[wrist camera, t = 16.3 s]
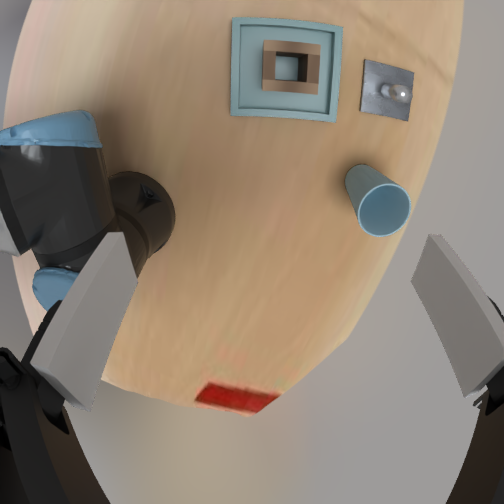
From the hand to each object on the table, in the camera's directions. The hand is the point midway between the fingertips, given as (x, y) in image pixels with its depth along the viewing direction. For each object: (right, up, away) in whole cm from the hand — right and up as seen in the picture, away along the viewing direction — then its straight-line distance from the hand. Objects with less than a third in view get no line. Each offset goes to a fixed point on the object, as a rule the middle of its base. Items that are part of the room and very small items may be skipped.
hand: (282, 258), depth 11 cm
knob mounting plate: (+18, +23, +21) cm, 36 cm away
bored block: (+3, +24, +20) cm, 32 cm away
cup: (+16, +12, +30) cm, 36 cm away
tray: (+3, +25, +20) cm, 32 cm away
